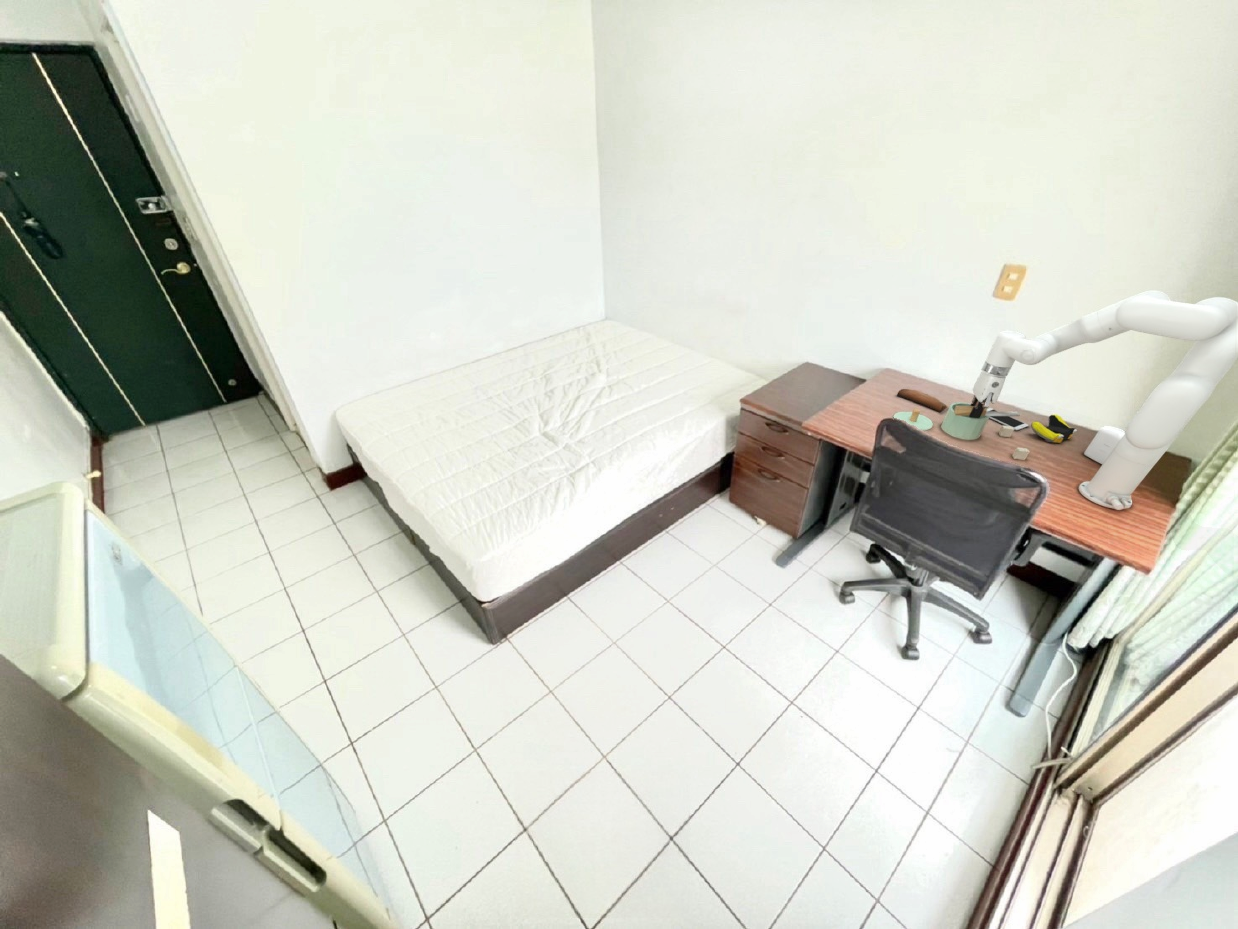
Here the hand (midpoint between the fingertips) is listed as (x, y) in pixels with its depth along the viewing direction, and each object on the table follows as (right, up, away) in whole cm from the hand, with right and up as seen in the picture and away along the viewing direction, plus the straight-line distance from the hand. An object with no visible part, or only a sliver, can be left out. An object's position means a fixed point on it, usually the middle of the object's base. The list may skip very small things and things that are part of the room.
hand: (973, 415), depth 173 cm
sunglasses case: (-2, +8, +27) cm, 28 cm away
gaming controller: (+33, -7, +6) cm, 34 cm away
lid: (-14, -1, +14) cm, 19 cm away
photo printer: (+38, -17, -7) cm, 42 cm away
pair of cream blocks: (+14, -11, 0) cm, 18 cm away
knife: (+2, 0, -1) cm, 3 cm away
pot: (+1, -5, +9) cm, 10 cm away
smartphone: (+22, 0, +15) cm, 27 cm away
